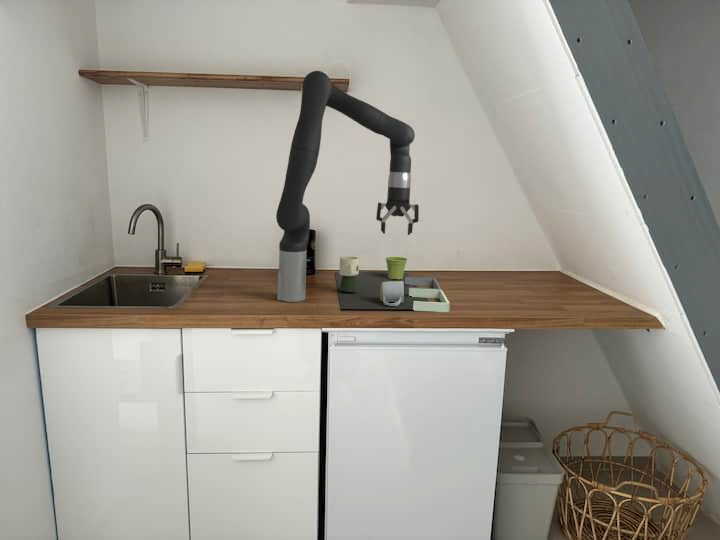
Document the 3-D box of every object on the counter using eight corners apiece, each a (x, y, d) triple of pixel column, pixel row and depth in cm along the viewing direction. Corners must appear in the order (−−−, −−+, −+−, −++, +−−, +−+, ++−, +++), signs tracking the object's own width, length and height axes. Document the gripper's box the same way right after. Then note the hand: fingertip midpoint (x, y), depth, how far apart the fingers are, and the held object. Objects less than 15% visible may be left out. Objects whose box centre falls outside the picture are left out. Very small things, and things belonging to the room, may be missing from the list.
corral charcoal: (408, 295, 194) (409, 288, 194) (404, 284, 214) (405, 277, 213) (441, 297, 194) (441, 289, 194) (434, 285, 213) (434, 278, 213)
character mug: (360, 295, 192) (361, 260, 189) (340, 295, 190) (341, 260, 188) (355, 288, 202) (356, 255, 200) (336, 288, 201) (338, 255, 198)
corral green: (413, 310, 175) (413, 301, 174) (408, 296, 194) (409, 288, 193) (449, 312, 175) (449, 303, 174) (441, 297, 194) (441, 289, 193)
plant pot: (381, 279, 221) (382, 259, 219) (387, 275, 229) (388, 255, 228) (403, 282, 218) (404, 261, 216) (408, 277, 227) (409, 257, 225)
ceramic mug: (379, 298, 188) (380, 278, 187) (402, 300, 188) (404, 279, 186) (379, 307, 178) (381, 285, 176) (404, 308, 178) (405, 286, 176)
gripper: (378, 185, 173) (375, 234, 176) (421, 187, 173) (418, 236, 176) (377, 184, 180) (375, 231, 183) (419, 186, 180) (416, 233, 183)
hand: (396, 234), depth 180 cm, fingers open, 8 cm apart
